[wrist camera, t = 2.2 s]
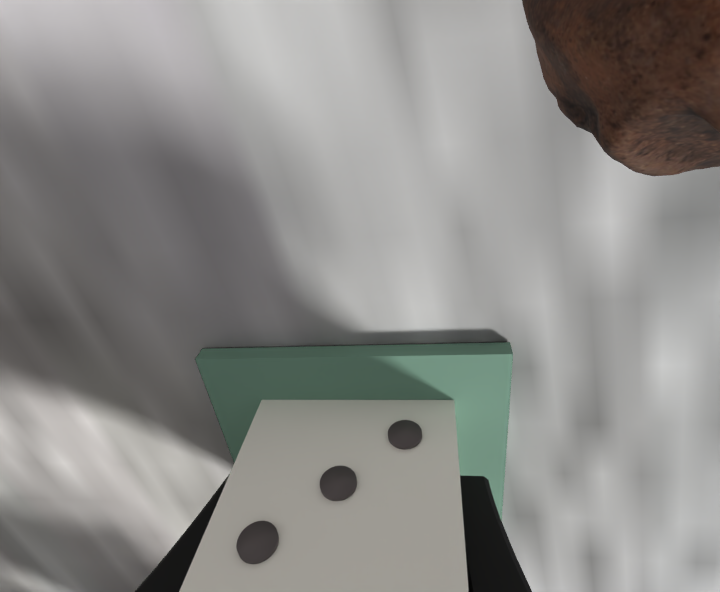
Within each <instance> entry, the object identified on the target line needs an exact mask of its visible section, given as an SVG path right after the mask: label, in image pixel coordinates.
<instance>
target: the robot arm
mask: <svg viewBox="0 0 720 592" xmlns="http://www.w3.org/2000/svg"><path fill="white" fill-rule="evenodd" d="M229 475H230V474H229ZM229 475H228V477H229ZM228 477H227V478H226V479H225V481H224V482H223V483H222V485H221V486H220V487H219V489H218V490H217V491H216V493H215V494H214V495H213V496H212V498H211V499H210V500H209V502H208V503H207V504H206V506H205V507H204V508H203V510H202V511H201V512H200V513H199V515H198V516H197V517H196V519H195V520H194V521H193V522H192V524H191V525H190V526H189V528H188V529H187V530H186V531H185V533H184V534H183V535H182V536H181V537H180V539H179V540H178V541H177V542H176V544H175V545H174V546H173V547H172V549H171V550H170V551H169V552H168V554H167V555H166V556H165V557H164V558H163V560H162V561H161V562H160V563H159V564H158V566H157V567H156V568H155V569H154V570H153V571H152V573H151V574H150V575H149V576H148V577H147V578H146V579H145V581H144V582H143V583H142V584H141V585H140V586H139V588H138V589H137V590H136V591H135V592H179V591H180V589H181V586H182V584H183V582H184V579H185V577H186V575H187V572H188V570H189V568H190V565H191V563H192V561H193V558H194V556H195V554H196V551H197V549H198V547H199V544H200V542H201V540H202V537H203V535H204V533H205V530H206V528H207V526H208V523H209V521H210V519H211V516H212V514H213V512H214V509H215V507H216V505H217V502H218V500H219V498H220V496H221V493H222V491H223V489H224V486H225V484H226V482H227V479H228ZM460 483H461V496H462V510H463V523H464V536H465V549H466V563H467V576H468V589H469V592H532V591H531V589H530V586H529V584H528V582H527V580H526V578H525V575H524V573H523V571H522V569H521V567H520V565H519V562H518V560H517V558H516V556H515V553H514V551H513V549H512V546H511V544H510V542H509V539H508V537H507V534H506V532H505V529H504V527H503V524H502V521H501V519H500V516H499V513H498V510H497V507H496V504H495V501H494V498H493V495H492V492H491V488H490V484H489V480H488V479H487V478H485V477H484V476H461V475H460Z"/></svg>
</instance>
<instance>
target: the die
mask: <svg viewBox="0 0 720 592" xmlns="http://www.w3.org/2000/svg"><path fill="white" fill-rule="evenodd" d="M179 592H469V589H468V576H467V563H466V549H465V536H464V523H463V510H462V496H461V483H460V470H459V457H458V444H457V430H456V417H455V404H454V400H261V402H260V405H259V407H258V409H257V412H256V414H255V416H254V419H253V421H252V423H251V426H250V428H249V430H248V433H247V435H246V437H245V440H244V442H243V444H242V447H241V449H240V451H239V454H238V456H237V458H236V461H235V463H234V465H233V468H232V470H231V472H230V475H229V477H228V479H227V482H226V484H225V486H224V489H223V491H222V493H221V496H220V498H219V500H218V502H217V505H216V507H215V509H214V512H213V514H212V516H211V519H210V521H209V523H208V526H207V528H206V530H205V533H204V535H203V537H202V540H201V542H200V544H199V547H198V549H197V551H196V554H195V556H194V558H193V561H192V563H191V565H190V568H189V570H188V572H187V575H186V577H185V579H184V582H183V584H182V586H181V589H180V591H179Z"/></svg>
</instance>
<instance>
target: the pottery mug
mask: <svg viewBox="0 0 720 592" xmlns="http://www.w3.org/2000/svg"><path fill="white" fill-rule="evenodd" d="M522 1H523V7H524V11H525V15H526V19H527V22H528V25H529V28H530V31H531V33H532V35H533V37H534V40H535V43H536V49H537V54H538V58H539V62H540V65H541V69H542V73H543V78H544V80H545V82H546V84H547V87H548V89H549V90H550V92H551V93H552V94H553V95H554V96H555V97H556V99H557V102H558V106H559V108H560V110H561V111H562V112H563V114H564V115H565V116H566V117H567V118H569V119H570V120H571V121H572V122H573V123H574V124H575V125H576V126H577V127H579V128H582V129H584V130H586V131H589V132H591V133H592V134H593V135H594V137H595V138H596V140H597V141H598V143H599V144H600V146H601V147H602V149H603V150H604V152H606V153H607V154H608V155H609V156H610V157H611V158H613V159H614V160H616V161H618V162H620V163H622V164H623V165H625V166H626V167H628V168H629V169H631V170H633V171H635V172H638V173H642V174H646V175H650V176H663V175H675V174H680V173H682V172H686V171H691V170H695V169H705V168H710V167H718V166H720V0H522Z"/></svg>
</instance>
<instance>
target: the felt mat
mask: <svg viewBox="0 0 720 592" xmlns="http://www.w3.org/2000/svg"><path fill="white" fill-rule="evenodd" d="M195 360H196V363H197V366H198V368H199V371H200V374H201V376H202V379H203V381H204V384H205V387H206V389H207V392H208V395H209V397H210V400H211V403H212V405H213V408H214V411H215V413H216V416H217V419H218V421H219V424H220V426H221V429H222V432H223V434H224V437H225V440H226V442H227V445H228V448H229V450H230V453H231V456H232V458H233V461H234V463H235V461H236V458H237V456H238V454H239V451H240V449H241V447H242V444H243V442H244V440H245V437H246V435H247V433H248V430H249V428H250V426H251V423H252V421H253V419H254V416H255V414H256V412H257V409H258V407H259V405H260V402H261V400H454V404H455V417H456V430H457V444H458V457H459V470H460V475H461V476H484V477H485V478H487V479H488V480H489V484H490V488H491V492H492V495H493V498H494V501H495V504H496V507H497V510H498V513H499V516H500V519H501V520H502V506H503V491H504V477H505V462H506V448H507V433H508V419H509V404H510V390H511V375H512V361H513V352H512V349H511V345H510V342H503V343H454V344H405V345H357V346H308V347H259V348H210V349H202V350H201V351H200V353H199V354H198V356H197V357H196V359H195Z"/></svg>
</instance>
